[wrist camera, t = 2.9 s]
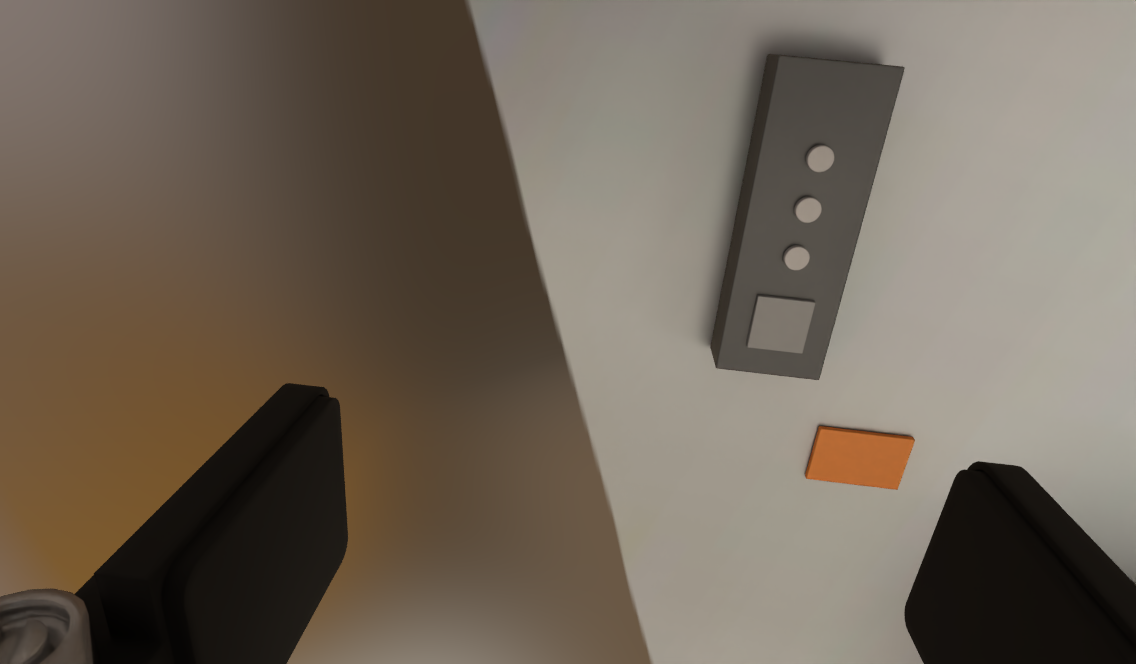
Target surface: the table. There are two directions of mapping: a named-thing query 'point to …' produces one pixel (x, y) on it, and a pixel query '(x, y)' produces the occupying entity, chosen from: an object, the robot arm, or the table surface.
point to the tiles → (859, 457)
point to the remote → (801, 211)
